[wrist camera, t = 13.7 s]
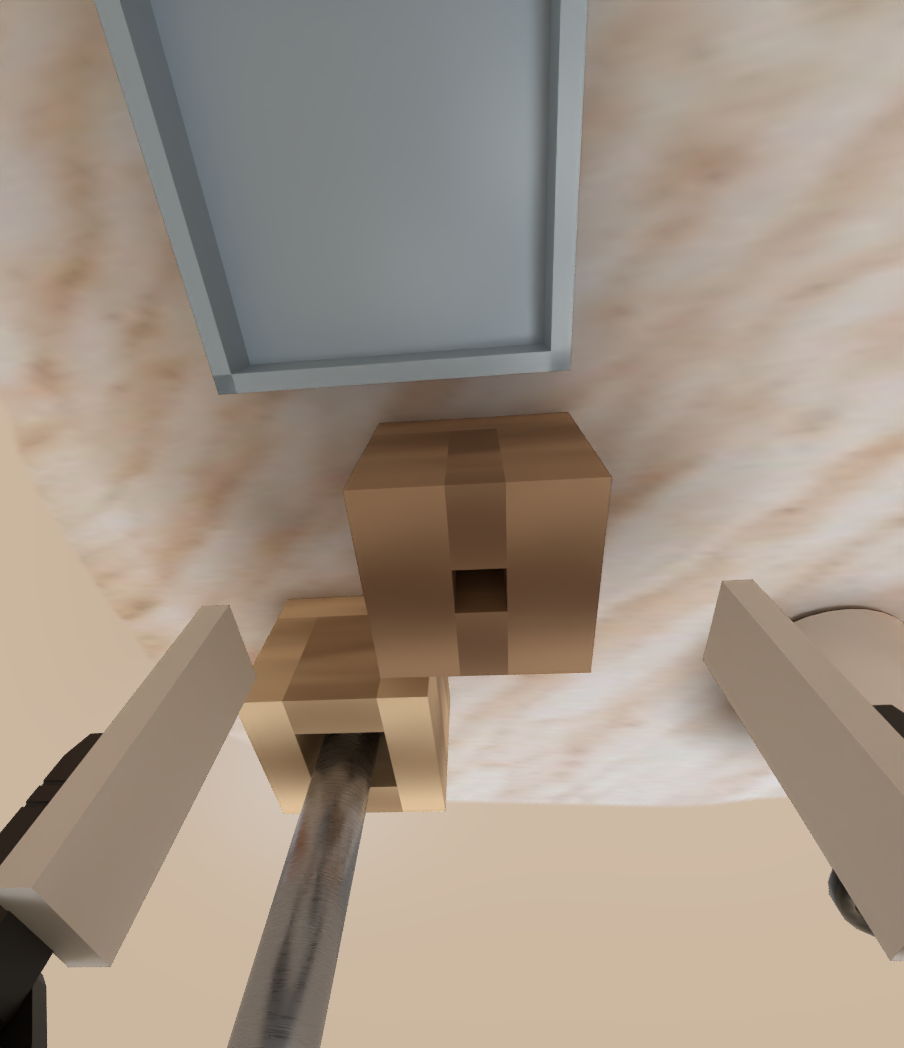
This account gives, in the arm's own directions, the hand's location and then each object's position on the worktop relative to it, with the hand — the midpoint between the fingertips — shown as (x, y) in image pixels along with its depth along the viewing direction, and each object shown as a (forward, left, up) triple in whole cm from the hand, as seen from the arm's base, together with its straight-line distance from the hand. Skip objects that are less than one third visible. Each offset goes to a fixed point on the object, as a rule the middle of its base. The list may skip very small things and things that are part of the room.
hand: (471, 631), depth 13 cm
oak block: (+8, -5, -7) cm, 12 cm away
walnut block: (0, 0, -7) cm, 7 cm away
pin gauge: (+8, -5, -6) cm, 11 cm away
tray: (-11, -2, -7) cm, 14 cm away
